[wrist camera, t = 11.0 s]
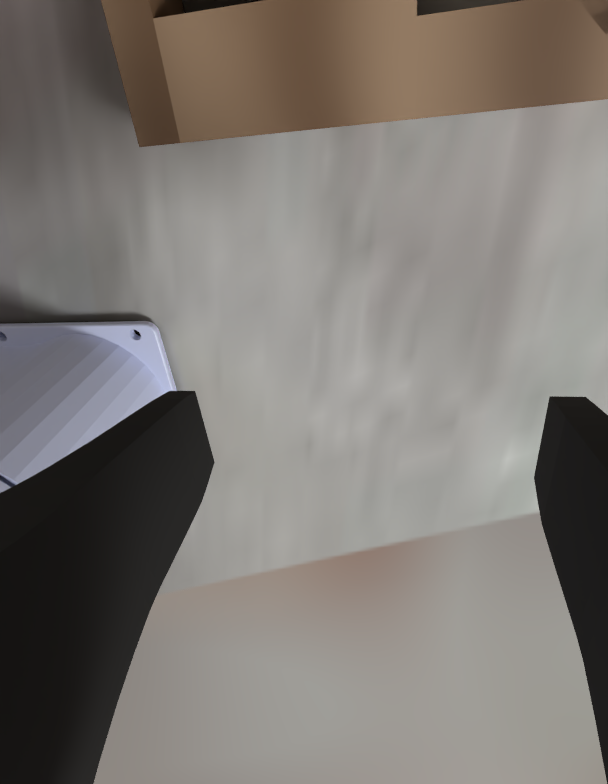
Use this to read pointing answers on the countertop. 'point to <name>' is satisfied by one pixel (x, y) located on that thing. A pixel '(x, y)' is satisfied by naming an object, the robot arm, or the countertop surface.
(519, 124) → the countertop surface
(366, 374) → the countertop surface
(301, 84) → the keyhole board
